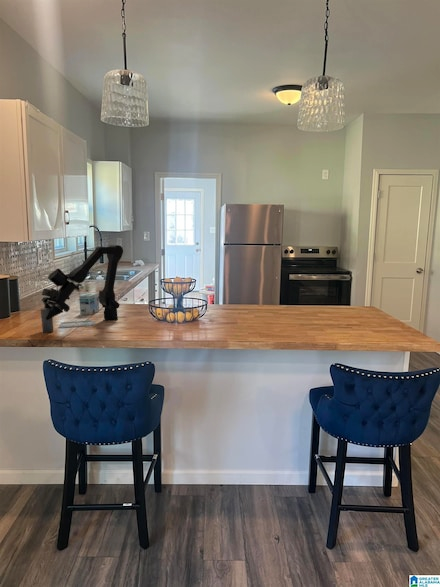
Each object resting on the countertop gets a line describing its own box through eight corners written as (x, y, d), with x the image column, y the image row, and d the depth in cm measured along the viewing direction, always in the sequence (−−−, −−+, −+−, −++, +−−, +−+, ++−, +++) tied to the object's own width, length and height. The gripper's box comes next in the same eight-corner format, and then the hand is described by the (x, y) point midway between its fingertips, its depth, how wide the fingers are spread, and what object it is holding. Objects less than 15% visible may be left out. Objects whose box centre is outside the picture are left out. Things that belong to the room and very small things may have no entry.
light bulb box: (90, 314, 233) (89, 295, 232) (79, 314, 235) (78, 295, 233) (99, 310, 244) (98, 292, 242) (89, 310, 245) (88, 292, 243)
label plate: (93, 321, 217) (93, 319, 217) (92, 325, 207) (92, 324, 207) (61, 323, 213) (61, 322, 213) (58, 328, 203) (58, 326, 203)
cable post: (54, 330, 200) (52, 307, 198) (52, 332, 195) (50, 309, 193) (43, 330, 198) (41, 308, 197) (41, 333, 194) (39, 310, 192)
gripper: (43, 280, 202) (22, 306, 196) (61, 283, 189) (39, 311, 183) (60, 294, 209) (40, 319, 203) (78, 298, 196) (58, 325, 190)
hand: (44, 318), depth 195 cm, fingers closed on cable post, 5 cm apart
